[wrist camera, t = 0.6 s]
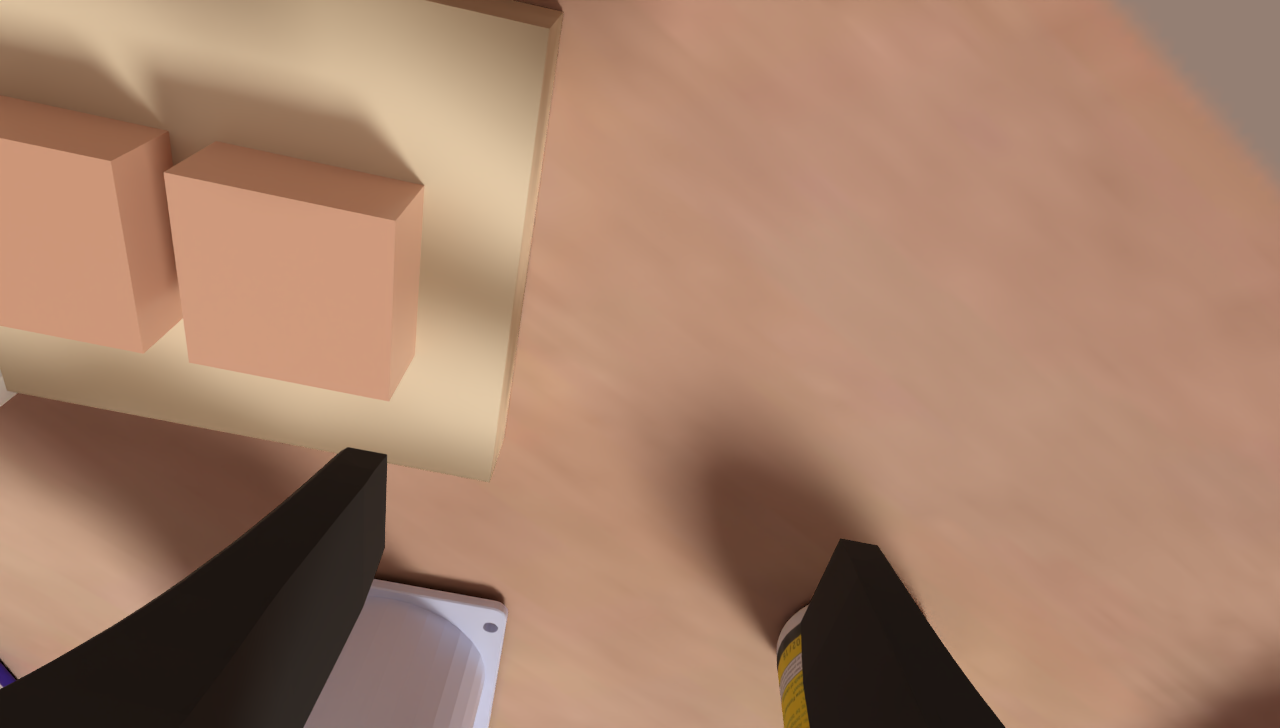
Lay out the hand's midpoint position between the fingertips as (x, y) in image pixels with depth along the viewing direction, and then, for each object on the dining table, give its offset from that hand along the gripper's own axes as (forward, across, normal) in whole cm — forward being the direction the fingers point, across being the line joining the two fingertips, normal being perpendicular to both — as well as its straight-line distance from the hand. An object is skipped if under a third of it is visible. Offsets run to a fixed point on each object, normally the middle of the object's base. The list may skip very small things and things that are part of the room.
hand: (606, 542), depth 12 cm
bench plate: (+9, +9, 0) cm, 13 cm away
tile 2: (+7, +13, 0) cm, 15 cm away
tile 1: (+7, +7, 0) cm, 10 cm away
